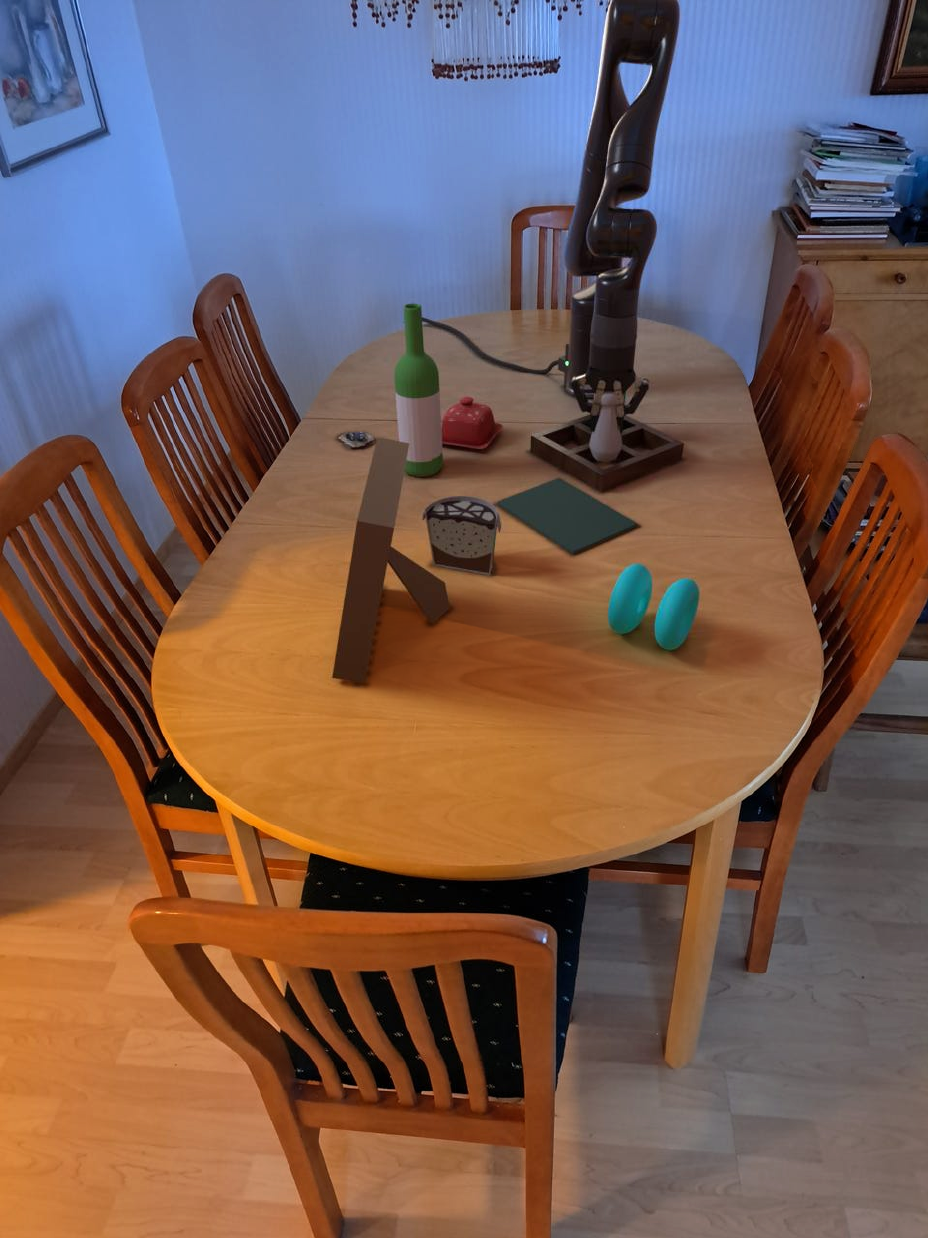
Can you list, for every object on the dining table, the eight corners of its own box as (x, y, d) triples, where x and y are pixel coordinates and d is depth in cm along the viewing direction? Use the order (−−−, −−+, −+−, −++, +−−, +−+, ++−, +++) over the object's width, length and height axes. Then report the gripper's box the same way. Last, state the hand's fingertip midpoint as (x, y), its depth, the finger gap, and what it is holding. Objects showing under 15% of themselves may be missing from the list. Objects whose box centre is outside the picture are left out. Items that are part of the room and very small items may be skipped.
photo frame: (332, 683, 119) (308, 520, 104) (354, 588, 136) (336, 437, 121) (444, 683, 118) (436, 520, 103) (451, 588, 136) (445, 436, 121)
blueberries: (358, 452, 172) (357, 443, 171) (328, 442, 176) (327, 433, 175) (381, 439, 177) (380, 430, 176) (351, 429, 181) (350, 420, 179)
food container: (511, 555, 142) (511, 500, 136) (499, 576, 138) (499, 520, 132) (438, 543, 146) (435, 489, 140) (424, 563, 141) (421, 508, 135)
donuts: (670, 666, 120) (679, 606, 114) (601, 643, 124) (606, 584, 118) (696, 627, 127) (706, 568, 121) (631, 606, 131) (637, 548, 125)
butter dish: (429, 446, 174) (427, 405, 168) (452, 422, 182) (450, 382, 177) (484, 455, 170) (484, 413, 165) (505, 430, 178) (505, 389, 173)
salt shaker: (620, 449, 164) (626, 382, 156) (621, 464, 160) (628, 395, 152) (588, 449, 165) (592, 381, 157) (588, 463, 160) (593, 395, 152)
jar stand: (530, 451, 171) (530, 434, 169) (608, 423, 180) (609, 407, 178) (601, 492, 158) (603, 474, 156) (682, 459, 167) (684, 442, 165)
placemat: (496, 504, 155) (496, 501, 155) (559, 480, 162) (559, 477, 161) (573, 554, 142) (573, 551, 142) (637, 526, 148) (637, 523, 148)
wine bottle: (451, 467, 167) (445, 304, 148) (422, 483, 162) (411, 316, 144) (422, 455, 171) (412, 295, 153) (392, 470, 166) (379, 306, 148)
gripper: (656, 331, 151) (646, 426, 161) (572, 328, 153) (567, 422, 163) (656, 347, 145) (645, 445, 155) (569, 344, 147) (564, 441, 157)
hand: (605, 433), depth 159 cm, fingers closed on salt shaker, 3 cm apart
